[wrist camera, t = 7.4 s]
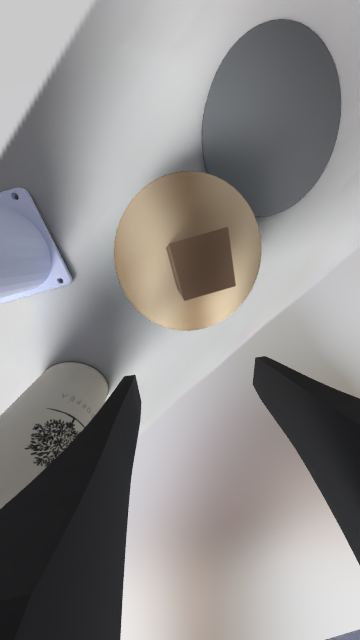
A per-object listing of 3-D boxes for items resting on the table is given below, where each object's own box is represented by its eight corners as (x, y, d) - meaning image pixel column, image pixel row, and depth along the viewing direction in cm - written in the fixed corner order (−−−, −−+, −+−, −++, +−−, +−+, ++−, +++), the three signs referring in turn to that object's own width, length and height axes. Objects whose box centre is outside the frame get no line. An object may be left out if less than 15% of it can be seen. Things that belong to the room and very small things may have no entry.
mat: (215, 230, 17) (217, 230, 16) (186, 52, 12) (187, 42, 12) (328, 198, 17) (334, 196, 16) (340, 11, 12) (349, -1, 12)
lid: (145, 341, 15) (139, 376, 11) (90, 201, 11) (43, 163, 6) (260, 307, 15) (302, 328, 11) (248, 157, 11) (308, 90, 7)
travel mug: (66, 417, 23) (-192, 865, 6) (26, 375, 20) (-704, 1022, 3) (119, 397, 23) (7, 798, 6) (87, 350, 20) (-331, 898, 3)
